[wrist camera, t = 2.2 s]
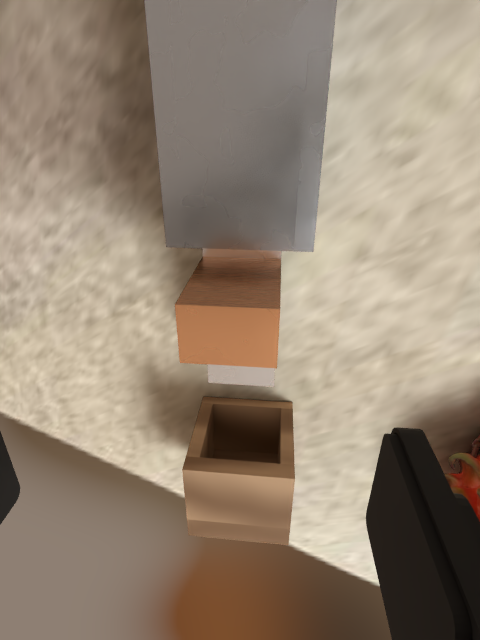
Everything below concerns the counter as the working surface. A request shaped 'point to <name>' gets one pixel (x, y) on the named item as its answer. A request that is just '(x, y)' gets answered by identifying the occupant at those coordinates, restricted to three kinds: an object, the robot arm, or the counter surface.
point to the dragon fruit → (467, 476)
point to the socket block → (241, 471)
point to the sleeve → (240, 119)
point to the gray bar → (232, 316)
